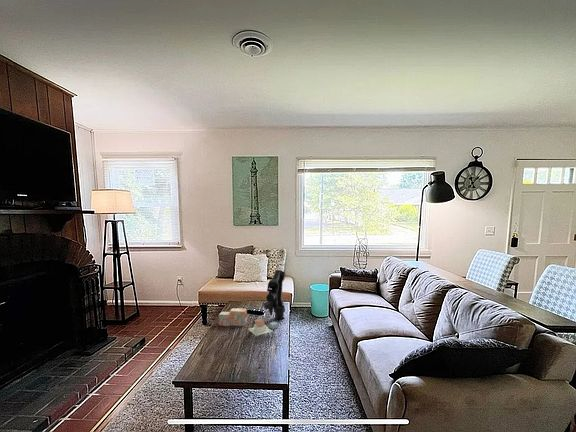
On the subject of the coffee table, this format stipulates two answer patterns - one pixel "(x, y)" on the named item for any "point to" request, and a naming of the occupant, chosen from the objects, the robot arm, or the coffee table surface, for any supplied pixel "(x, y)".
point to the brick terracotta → (260, 322)
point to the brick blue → (273, 325)
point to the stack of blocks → (233, 317)
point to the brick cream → (259, 328)
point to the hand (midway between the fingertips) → (273, 317)
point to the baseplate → (259, 332)
